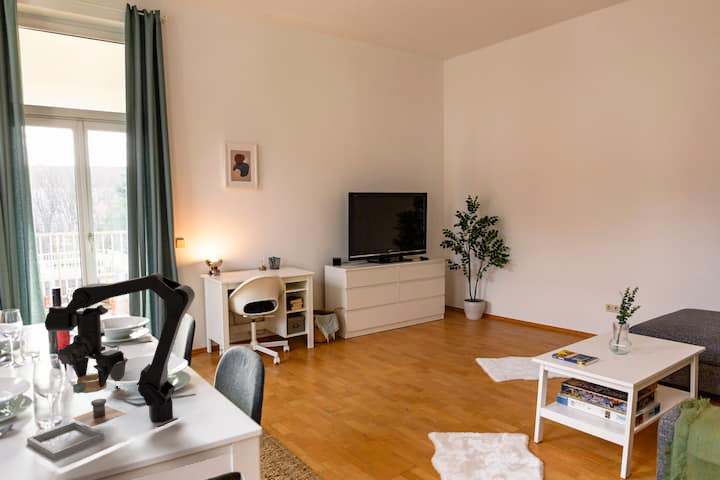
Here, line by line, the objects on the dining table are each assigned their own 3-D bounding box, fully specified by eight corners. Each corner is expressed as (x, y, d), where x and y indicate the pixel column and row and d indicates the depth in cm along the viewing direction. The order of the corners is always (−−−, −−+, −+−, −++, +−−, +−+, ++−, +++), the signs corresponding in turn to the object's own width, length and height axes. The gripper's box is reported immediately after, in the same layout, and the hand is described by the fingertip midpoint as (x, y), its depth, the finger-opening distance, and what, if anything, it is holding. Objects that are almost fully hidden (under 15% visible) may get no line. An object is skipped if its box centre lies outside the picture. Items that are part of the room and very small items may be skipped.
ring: (112, 385, 141) (111, 374, 141) (85, 396, 133) (85, 385, 133) (93, 382, 144) (93, 372, 144) (66, 393, 136) (66, 382, 136)
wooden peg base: (126, 416, 144) (125, 399, 144) (91, 430, 136) (90, 411, 135) (107, 409, 150) (106, 391, 149) (72, 421, 141) (71, 403, 141)
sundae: (120, 395, 160) (118, 349, 159) (102, 393, 162) (100, 348, 160) (133, 387, 167) (131, 343, 165) (116, 386, 168) (114, 342, 167)
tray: (104, 443, 129) (103, 433, 128) (54, 463, 119) (54, 453, 119) (76, 429, 136) (75, 420, 136) (27, 447, 126) (27, 438, 126)
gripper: (37, 334, 134) (41, 391, 135) (89, 341, 127) (92, 400, 128) (74, 324, 144) (77, 377, 145) (124, 330, 137) (126, 385, 139)
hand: (92, 385), depth 139 cm, fingers closed on ring, 7 cm apart
